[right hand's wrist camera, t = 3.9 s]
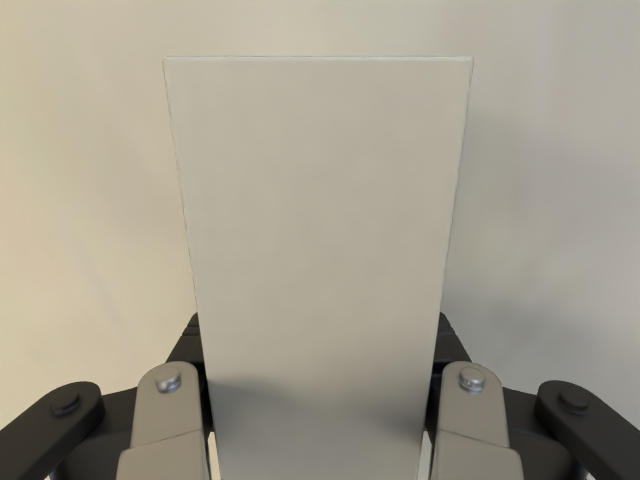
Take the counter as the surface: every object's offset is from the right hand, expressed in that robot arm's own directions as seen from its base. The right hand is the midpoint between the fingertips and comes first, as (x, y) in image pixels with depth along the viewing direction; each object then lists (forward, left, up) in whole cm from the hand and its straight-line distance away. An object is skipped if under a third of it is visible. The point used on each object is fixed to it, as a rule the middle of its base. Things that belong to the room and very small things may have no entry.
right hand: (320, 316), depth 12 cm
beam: (+8, -25, -2) cm, 27 cm away
